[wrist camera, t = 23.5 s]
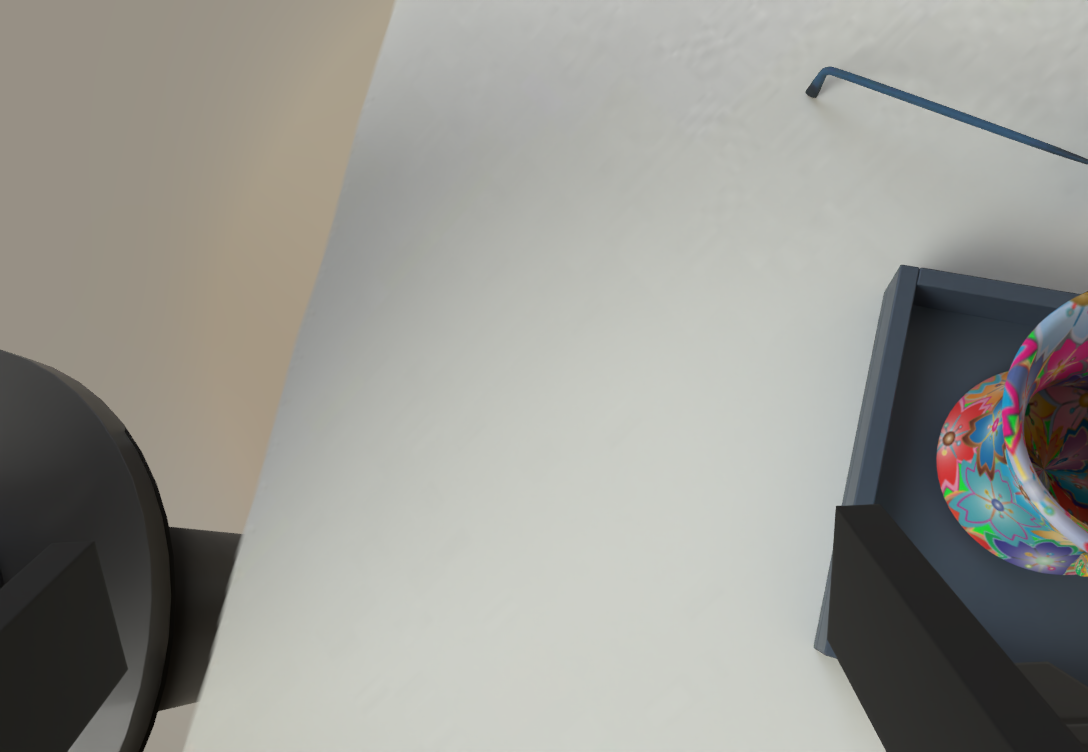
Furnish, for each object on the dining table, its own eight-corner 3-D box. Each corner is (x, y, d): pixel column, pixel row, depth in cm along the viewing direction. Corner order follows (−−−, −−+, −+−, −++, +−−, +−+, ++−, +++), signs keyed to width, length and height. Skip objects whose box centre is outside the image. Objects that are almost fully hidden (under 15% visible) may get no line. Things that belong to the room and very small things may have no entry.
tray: (813, 647, 35) (823, 654, 31) (884, 291, 38) (900, 263, 34) (1202, 760, 31) (1260, 782, 28) (1246, 355, 34) (1303, 331, 31)
